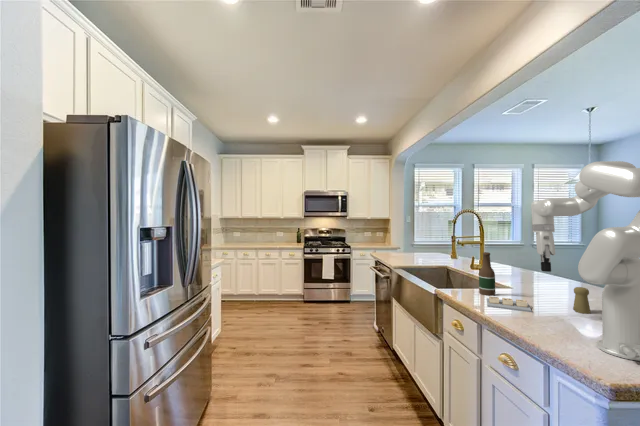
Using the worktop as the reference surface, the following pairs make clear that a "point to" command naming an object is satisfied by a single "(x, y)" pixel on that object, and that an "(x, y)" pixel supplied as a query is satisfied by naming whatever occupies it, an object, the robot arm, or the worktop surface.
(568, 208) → the robot arm
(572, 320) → the worktop surface
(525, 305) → the key
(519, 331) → the worktop surface
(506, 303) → the key
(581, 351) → the worktop surface
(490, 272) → the beer bottle
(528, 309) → the board
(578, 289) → the cork
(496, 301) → the key
